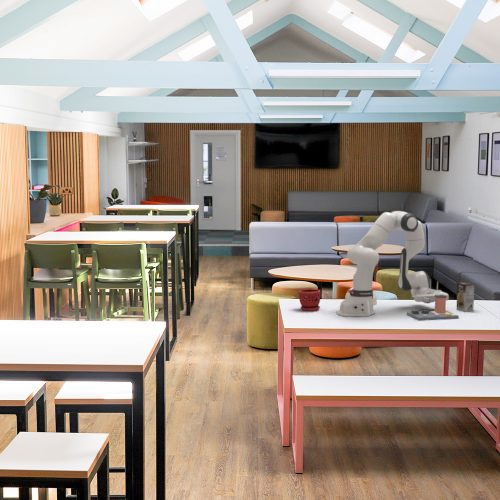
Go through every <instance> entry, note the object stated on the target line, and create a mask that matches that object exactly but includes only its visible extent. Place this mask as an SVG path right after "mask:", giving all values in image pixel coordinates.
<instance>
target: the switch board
mask: <svg viewBox="0 0 500 500" xmlns="http://www.w3.org/2000/svg"><path fill="white" fill-rule="evenodd" d="M406 316H408V317H410V318H413V319H414V320H416V321H419V322H420V321H435V320H437V321H438V320H456V319H460V317H459V315H458V314H457V313H456V314H455V313H452V312H450V311H448V310H446V313H436V312H435V310H430V311H429V310H428V309H421V311H419V310H417V309H413V310H411V311H407V312H406Z"/></svg>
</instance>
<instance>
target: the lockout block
mask: <svg viewBox="0 0 500 500" xmlns="http://www.w3.org/2000/svg"><path fill="white" fill-rule="evenodd" d="M446 304H447V301H446V295H443V294H441V295H435V302H434V311H435V312H436V313H446V311H447V310H446V308H447V307H446Z"/></svg>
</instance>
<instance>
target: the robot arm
mask: <svg viewBox="0 0 500 500" xmlns="http://www.w3.org/2000/svg"><path fill="white" fill-rule="evenodd" d="M394 229H396V230H398V231H402V232H403V231H404V233H405V234H404V235H405V245H404V247H403V248H402V249H401V252H400V259H399V261H400V262H399V274H398V280H397V282H398V287H399V288H400V290H402V291H404V292H408V291H410V294H411V299H413V300H414V301H415V302H416V303H420V302H421V303H424V304H430V303H435V295H441V294H443V295H446V302H447V301H449V297H450V296H449V294H448V293H447V292H444V291H442V290H441V289H432V288H430V286H431V278H430V275H428V273H427V272H426V271H424V270H420V271H415V272H411V273H408V272H409V262H410V260H411V259H412V258H413V257H414V256H416V255H418V254H419V253H420V252H421V251H422V250H424V247H425V245H426V241H425V239H426V238H425V232H424V228H423V224H422V222H421V221H420V220H418V218H417V217H416V216H415V215H414V214H412V213H410V212H406V211H402V210H392V211H390V212H388V211H384V212H382V213H381V214H380V215H379V216H378V218H377V219H376V220H375V222H374V223H373V224H372V226H371V227H370V229H369V230H368V231H367V233H366V234H365V235H364V236H363V237H362V238H361V239H360V240H359V241H358V242H357V243H356V244H354V245H353V246H351V247H350V248H348V250H347V253H346V256H347V259H348V261H350V263H352V264H353V265H357V267H356V271H355V273H354V274H353V277H352V287H353V289H352V290H349V289H350V288H348V289H347V290H346V291H347V292H348V293H350V296H349V297H348V298H346V299H345V298H344V300H343V301H341V302H340V304H339V305H340V306H339V310H336V311H335V313H336V315H337V316H341V317H369V316H371V315H375V314H376V313H375V308H374V305H373V291H374V290H373V277H374V271H375V269H376V266H377V265H378V264H379V261H380V255H379V252H377V249H378V248H381V246H383V245H384V243H385V242H386V241H387V239H388V237H389V236H390V234H391V233H392V231H393V230H394Z"/></svg>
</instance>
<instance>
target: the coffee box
mask: <svg viewBox="0 0 500 500" xmlns="http://www.w3.org/2000/svg"><path fill="white" fill-rule="evenodd" d="M474 302H475V284H474V283H470V282H466V281H465V282H463V281H462V282H459V281H458V282H457V283H456V310H458V311H462V312H464V313H465V312H474Z"/></svg>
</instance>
